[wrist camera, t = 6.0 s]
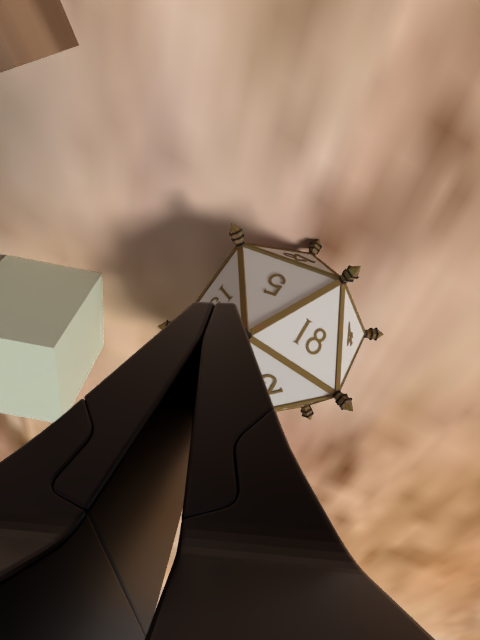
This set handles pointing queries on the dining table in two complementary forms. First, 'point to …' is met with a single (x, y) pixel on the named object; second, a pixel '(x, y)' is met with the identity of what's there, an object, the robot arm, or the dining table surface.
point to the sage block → (46, 335)
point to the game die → (293, 320)
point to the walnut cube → (32, 31)
